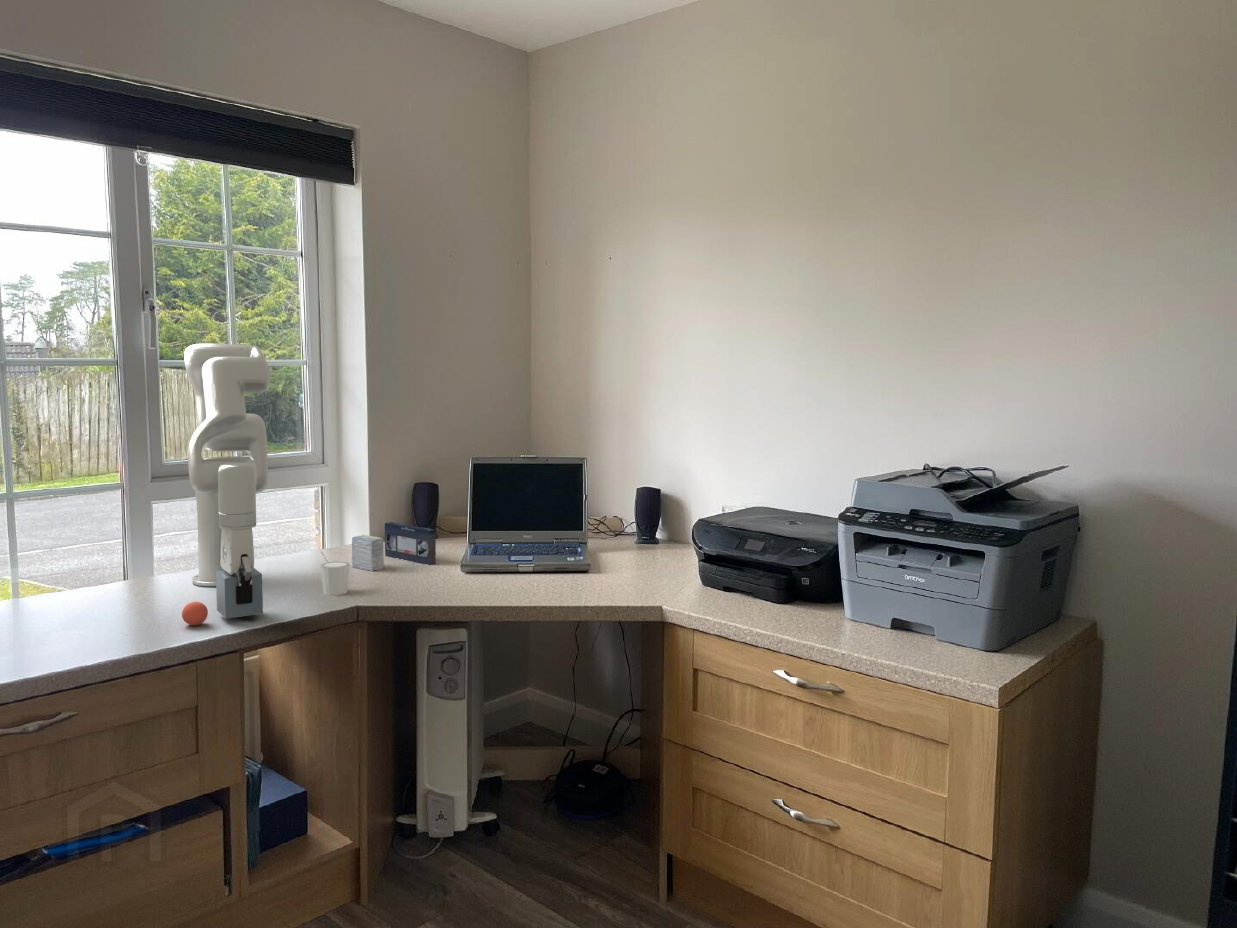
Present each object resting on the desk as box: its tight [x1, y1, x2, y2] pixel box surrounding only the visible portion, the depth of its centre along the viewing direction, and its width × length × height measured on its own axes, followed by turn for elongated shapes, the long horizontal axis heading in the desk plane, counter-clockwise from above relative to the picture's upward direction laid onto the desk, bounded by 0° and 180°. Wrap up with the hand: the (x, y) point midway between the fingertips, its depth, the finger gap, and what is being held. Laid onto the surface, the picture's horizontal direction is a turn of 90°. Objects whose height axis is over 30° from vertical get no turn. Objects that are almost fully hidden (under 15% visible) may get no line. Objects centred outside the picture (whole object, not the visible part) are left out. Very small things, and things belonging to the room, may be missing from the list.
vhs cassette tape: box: [384, 521, 437, 566], centre depth 258 cm, size 18×3×10 cm, turn 55°
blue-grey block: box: [215, 567, 264, 620], centre depth 197 cm, size 8×8×9 cm
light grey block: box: [351, 534, 385, 572], centre depth 246 cm, size 8×4×9 cm, turn 58°
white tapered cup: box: [320, 561, 351, 596], centre depth 221 cm, size 7×7×7 cm
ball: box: [181, 601, 209, 626], centre depth 192 cm, size 5×5×5 cm
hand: (239, 598), depth 197 cm, fingers closed on blue-grey block, 7 cm apart
